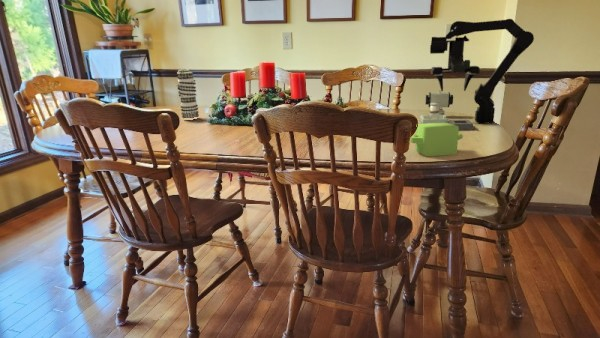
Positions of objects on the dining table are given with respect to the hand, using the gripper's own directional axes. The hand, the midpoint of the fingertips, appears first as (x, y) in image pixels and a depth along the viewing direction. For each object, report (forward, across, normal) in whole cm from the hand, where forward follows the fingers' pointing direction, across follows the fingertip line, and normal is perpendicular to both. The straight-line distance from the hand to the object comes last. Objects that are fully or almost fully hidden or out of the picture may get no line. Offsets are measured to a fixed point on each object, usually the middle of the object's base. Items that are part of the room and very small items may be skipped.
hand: (453, 91), depth 175 cm
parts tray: (+13, -8, -4) cm, 16 cm away
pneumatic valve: (+13, -4, +10) cm, 17 cm away
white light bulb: (+12, -8, -4) cm, 15 cm away
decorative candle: (+13, -126, +12) cm, 127 cm away
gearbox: (+13, -13, -49) cm, 53 cm away
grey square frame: (+13, +1, -14) cm, 19 cm away
